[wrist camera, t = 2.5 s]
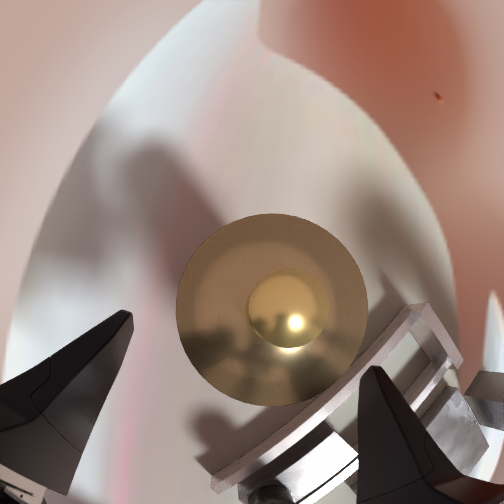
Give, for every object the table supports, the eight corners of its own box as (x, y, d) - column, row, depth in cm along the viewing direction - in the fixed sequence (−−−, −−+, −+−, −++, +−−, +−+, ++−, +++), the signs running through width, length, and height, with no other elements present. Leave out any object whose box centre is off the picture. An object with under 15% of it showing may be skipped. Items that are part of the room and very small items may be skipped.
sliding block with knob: (263, 501, 15) (274, 548, 9) (237, 482, 16) (241, 530, 10) (344, 441, 17) (381, 475, 11) (322, 419, 17) (356, 452, 11)
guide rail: (267, 516, 15) (272, 537, 12) (211, 475, 16) (209, 496, 13) (441, 357, 19) (464, 360, 16) (404, 305, 20) (427, 302, 17)
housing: (242, 366, 18) (274, 467, 5) (193, 309, 18) (115, 288, 5) (298, 318, 19) (430, 311, 6) (250, 262, 19) (296, 151, 6)
